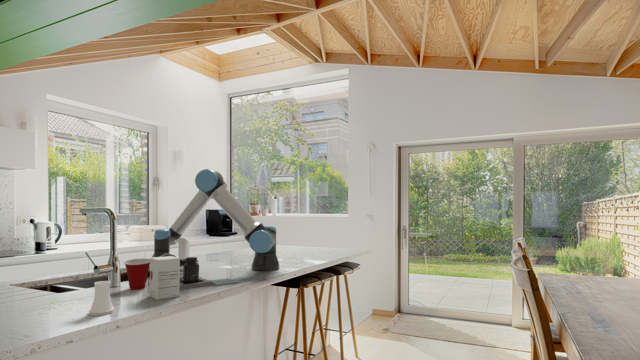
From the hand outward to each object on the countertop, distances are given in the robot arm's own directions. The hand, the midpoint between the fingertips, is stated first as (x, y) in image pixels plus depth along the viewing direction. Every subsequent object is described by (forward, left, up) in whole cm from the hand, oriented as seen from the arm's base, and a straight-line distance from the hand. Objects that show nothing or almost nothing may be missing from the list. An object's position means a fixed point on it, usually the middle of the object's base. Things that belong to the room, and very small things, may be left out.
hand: (183, 266), depth 189 cm
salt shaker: (+41, +35, -7) cm, 54 cm away
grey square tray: (0, +8, -7) cm, 11 cm away
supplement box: (+17, +24, -7) cm, 30 cm away
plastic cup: (+21, +2, -7) cm, 22 cm away
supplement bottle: (0, +8, -7) cm, 11 cm away
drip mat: (-13, +13, -7) cm, 20 cm away
